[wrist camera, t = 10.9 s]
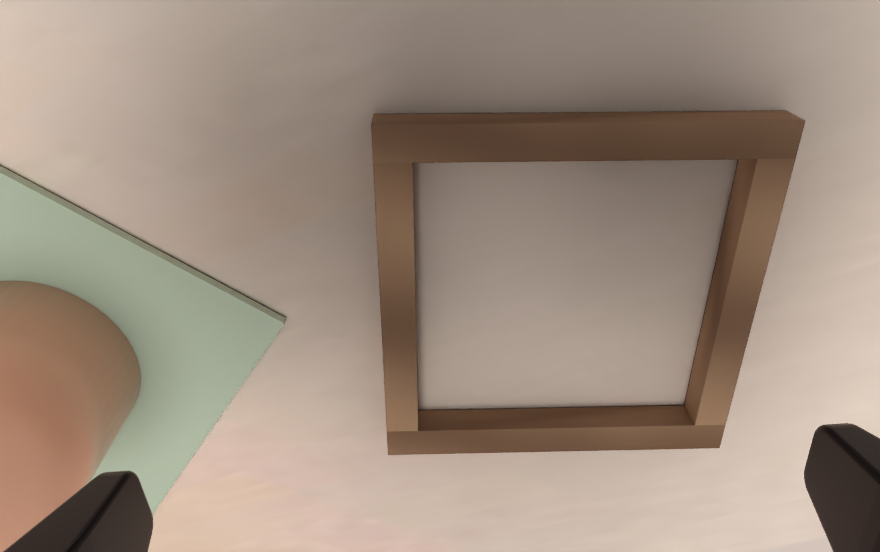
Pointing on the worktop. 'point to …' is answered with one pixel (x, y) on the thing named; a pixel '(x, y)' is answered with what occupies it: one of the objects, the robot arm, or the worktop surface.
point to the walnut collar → (582, 139)
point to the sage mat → (141, 324)
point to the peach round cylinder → (56, 399)
